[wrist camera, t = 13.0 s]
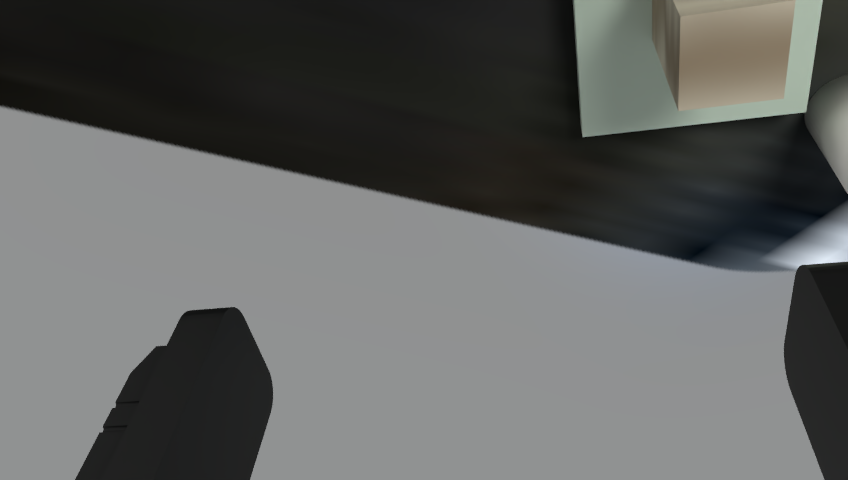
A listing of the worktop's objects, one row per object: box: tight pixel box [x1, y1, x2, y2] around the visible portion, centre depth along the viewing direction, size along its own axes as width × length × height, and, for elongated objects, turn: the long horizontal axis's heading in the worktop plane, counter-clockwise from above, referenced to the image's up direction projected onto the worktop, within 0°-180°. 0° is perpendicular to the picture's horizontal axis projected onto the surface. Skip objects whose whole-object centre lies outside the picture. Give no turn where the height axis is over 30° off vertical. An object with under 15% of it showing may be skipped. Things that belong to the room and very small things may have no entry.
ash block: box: [652, 0, 796, 111], centre depth 31 cm, size 4×4×7 cm
